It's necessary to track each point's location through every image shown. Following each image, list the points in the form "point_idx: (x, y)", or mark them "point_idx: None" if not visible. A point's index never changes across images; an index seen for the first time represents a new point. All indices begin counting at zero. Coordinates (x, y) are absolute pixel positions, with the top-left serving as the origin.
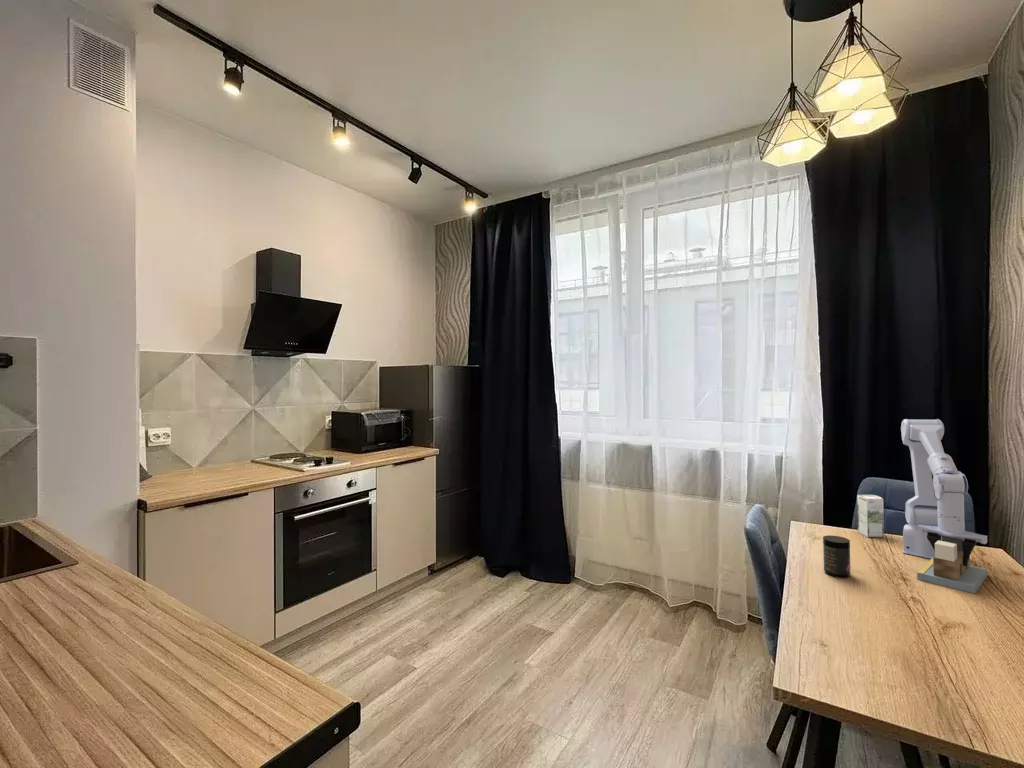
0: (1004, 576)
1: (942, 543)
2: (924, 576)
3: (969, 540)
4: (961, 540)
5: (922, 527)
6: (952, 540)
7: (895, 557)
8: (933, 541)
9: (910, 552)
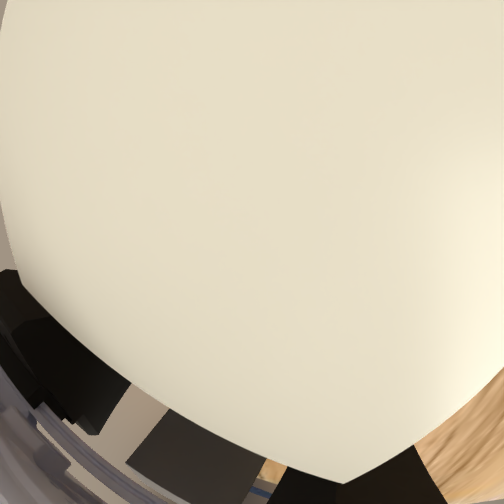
0: None
1: (225, 19)
2: None
3: (10, 367)
4: (147, 449)
5: None
6: (203, 469)
7: (465, 411)
8: (386, 469)
9: None
